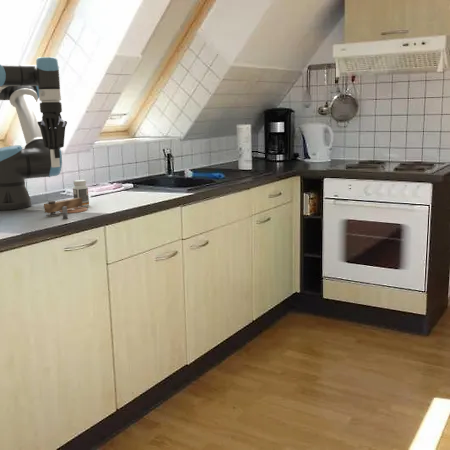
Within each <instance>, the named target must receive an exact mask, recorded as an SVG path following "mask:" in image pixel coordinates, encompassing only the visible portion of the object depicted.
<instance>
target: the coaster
mask: <svg viewBox="0 0 450 450" xmlns="http://www.w3.org/2000/svg"><path fill="white" fill-rule="evenodd" d="M86 211H88V208H87V206H83V207H75V208H70V209H67V214H77V213H84V212H86ZM59 212H60V213H62V210H61V211H59Z"/></svg>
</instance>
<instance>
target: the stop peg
mask: <svg viewBox="0 0 450 450" xmlns="http://www.w3.org/2000/svg"><path fill="white" fill-rule="evenodd" d="M61 213H62V219H64V220H67V219H69V216H68V213H67V207H62V212H61Z"/></svg>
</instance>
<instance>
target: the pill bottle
mask: <svg viewBox="0 0 450 450" xmlns="http://www.w3.org/2000/svg"><path fill="white" fill-rule="evenodd" d="M86 184H87V180H86V179H75V180H73V185H74V186H73V188H72V192H73V193H72V194H73V198H82V204H83V206H80V207H87V206H89V205H90V199H89V188H88V186H87V185H86Z"/></svg>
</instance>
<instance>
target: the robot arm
mask: <svg viewBox="0 0 450 450" xmlns="http://www.w3.org/2000/svg"><path fill="white" fill-rule="evenodd" d="M35 63H36V64H0V101H9V103H10V105H11V106H12V107H14V108H15V110H16V114H17V117H18V121H19V124H20V127H21V131H22V133H23V138H24V140H25V146H24V148H23V147H22V145H19V144H18V145H10V146H4V147H0V211H6V210H9V211H10V210H19V209H26V208H29V207H31V206H32V205H33V204H32V199H31V198H30V194H29V192H28V190H27V188H26V179H27V180H28V179H36V178H37V179H39V178H51V177H56V176H57V177H58V176H59V175H60V174H61V171H62V165H63V156H62V155H63V153H62V150H61V149H62V148H64V146H65V134H66V127H67V125H68V122H67V121H68V120H67V121H66V120H63V119H62V115H61V113H62V112H63V107H62V102H61V100H62V95H61V83H60V82H61V81H60V66H59V61H58V59H57V58H56V57H53V56H40V57H37V58H36V61H35ZM38 99H39V101H40V103H39V107H38V105H37V102H38ZM39 110H40V111H39ZM40 113H41V114H42V115H41V114H40ZM41 116H42V117H41Z"/></svg>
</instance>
